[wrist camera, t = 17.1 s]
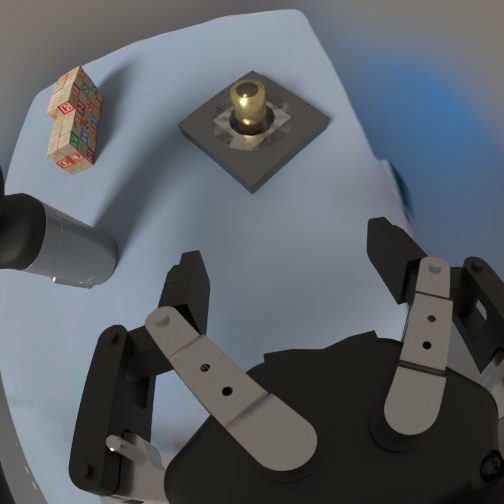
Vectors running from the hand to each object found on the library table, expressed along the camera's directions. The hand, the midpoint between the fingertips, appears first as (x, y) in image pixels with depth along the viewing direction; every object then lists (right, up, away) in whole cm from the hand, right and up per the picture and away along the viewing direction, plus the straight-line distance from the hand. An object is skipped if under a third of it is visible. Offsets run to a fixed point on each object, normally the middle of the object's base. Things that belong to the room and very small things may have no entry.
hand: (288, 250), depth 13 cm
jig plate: (-1, +21, +32) cm, 38 cm away
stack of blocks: (-38, +27, +36) cm, 59 cm away
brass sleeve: (-1, +21, +32) cm, 38 cm away
